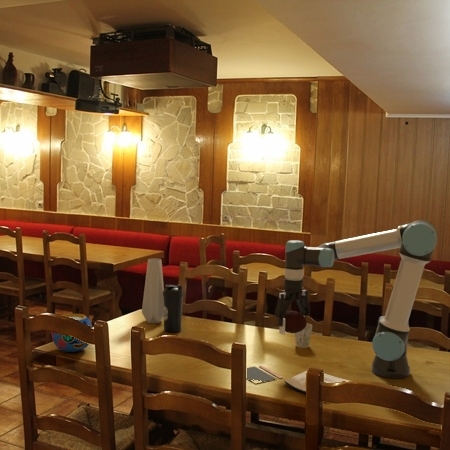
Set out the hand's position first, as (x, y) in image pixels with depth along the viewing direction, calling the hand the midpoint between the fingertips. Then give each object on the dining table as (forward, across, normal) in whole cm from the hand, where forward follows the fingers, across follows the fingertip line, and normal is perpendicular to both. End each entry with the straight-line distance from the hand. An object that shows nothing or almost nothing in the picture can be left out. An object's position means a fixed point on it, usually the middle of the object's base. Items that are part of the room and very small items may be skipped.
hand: (292, 332), depth 233 cm
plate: (+16, +3, +21) cm, 26 cm away
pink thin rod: (+15, +11, 0) cm, 19 cm away
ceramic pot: (+15, +73, -61) cm, 97 cm away
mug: (+15, -21, -18) cm, 32 cm away
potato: (0, 0, 0) cm, 0 cm away
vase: (+15, +23, -87) cm, 91 cm away
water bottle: (+15, +21, -68) cm, 73 cm away
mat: (+15, +18, 0) cm, 24 cm away
